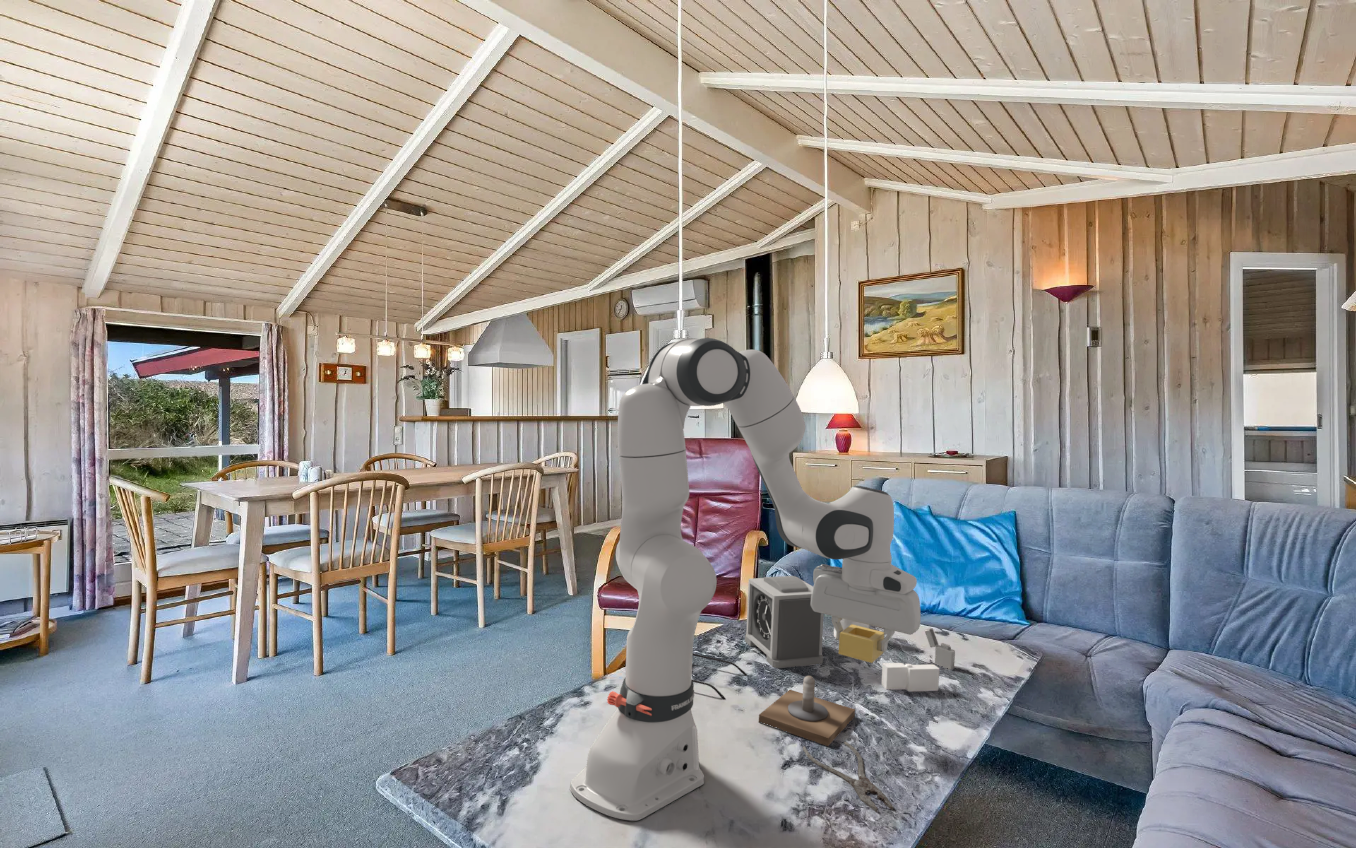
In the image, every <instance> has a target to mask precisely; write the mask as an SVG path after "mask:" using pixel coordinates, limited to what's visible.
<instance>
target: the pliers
mask: <svg viewBox="0 0 1356 848" xmlns="http://www.w3.org/2000/svg"><path fill="white" fill-rule="evenodd" d="M843 744H844V746H846V747H847V748H849V749H850V750H851V751H852V752H853V754H854V755H855V756H856V759H857V764H858V765H857V776H858V779H856V778H853V777H850V776H848V775H847V774H845V773H843V772H841V771H839V770H837V769H835V768H832V767H831V766H828V765H827V764H824V763H822V762H820V761H819V760H818V759H816V758H815V757H813V755H811V754H810V752H809V751H808V748H807V747H806V746H805V745H804V746H803V747H802V750H803V752H805V753H804V754H805V756H806V757H807V759H809V760H810V761H811V762H812V763H814V764H815V765H816V766H818V767H819V768H821V769H823V770H825V771H827V772H829V773H831V774H833V775H835V776H836V777H838V778H839V779H840V778H841V779H842V780H844V781H845V782H846V783H848V785H850V786H851V788H853V790H854V792H855V793H856V795H857V796H858V798H859V800H860V801H861V802H862V803H863V804H865V805H866V806H867V807H869V808H870V809H871V810H872V811H874V812H875V813H878V812H879V811H878V810H879V809H878V807H877V806H876V804H875V802H873V801H872V797H871V796H870V795H868V794H871V795H876V799H877V800H879V801H880V802H882V803H883V804H884V805H885V806H886V807H887V808H888V809H890V810H891V811H893V810H894V805H893V803H892V802H891V801H890V800H889V798H888V797H887V796H886V795H885V793H884V792H882V791H881V790H880V788H878V787H877V786H876V785H875V784H874V783H872V781H871V779H869V778H868V777H867V775H866V773H865V767H864V760H863V757H862V755H861V754H860V753H859V752H858V750H857V749H856V748H855V747H854V746H853V745H852V744H850V743H849V742H847V741H844V743H843Z"/></svg>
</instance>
